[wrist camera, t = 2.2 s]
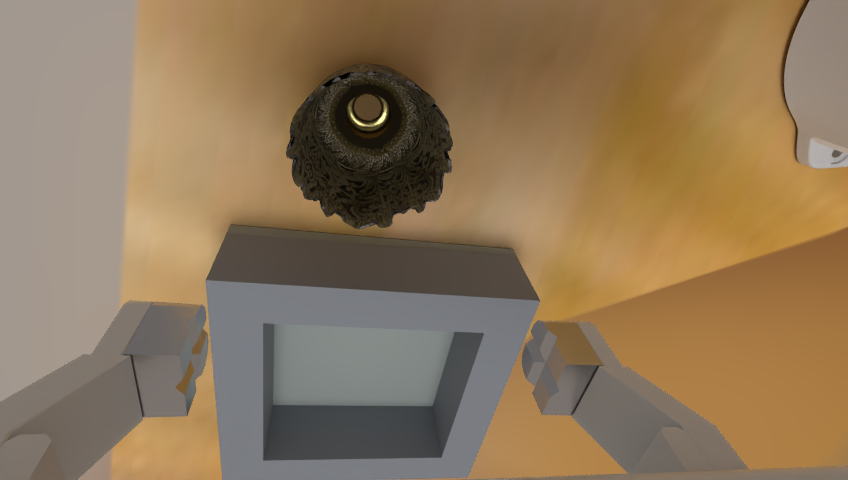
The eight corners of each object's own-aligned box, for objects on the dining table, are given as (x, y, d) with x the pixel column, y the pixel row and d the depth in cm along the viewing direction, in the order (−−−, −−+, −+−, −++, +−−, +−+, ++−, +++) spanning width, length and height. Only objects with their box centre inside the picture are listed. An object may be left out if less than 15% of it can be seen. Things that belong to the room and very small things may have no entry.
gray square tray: (512, 249, 34) (540, 300, 29) (454, 417, 44) (467, 477, 39) (230, 224, 30) (205, 280, 25) (239, 417, 40) (222, 483, 35)
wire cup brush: (335, 181, 29) (329, 249, 22) (280, 68, 25) (253, 111, 18) (444, 141, 29) (471, 199, 22) (406, 20, 25) (425, 46, 18)
